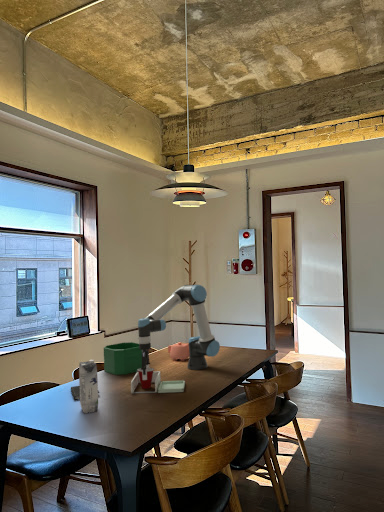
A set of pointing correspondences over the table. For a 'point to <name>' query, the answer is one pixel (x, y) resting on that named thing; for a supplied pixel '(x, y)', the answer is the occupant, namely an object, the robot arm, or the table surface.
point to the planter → (122, 358)
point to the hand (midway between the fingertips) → (146, 377)
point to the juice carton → (88, 386)
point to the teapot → (179, 351)
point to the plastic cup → (147, 383)
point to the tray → (171, 386)
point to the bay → (155, 378)
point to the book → (76, 392)
